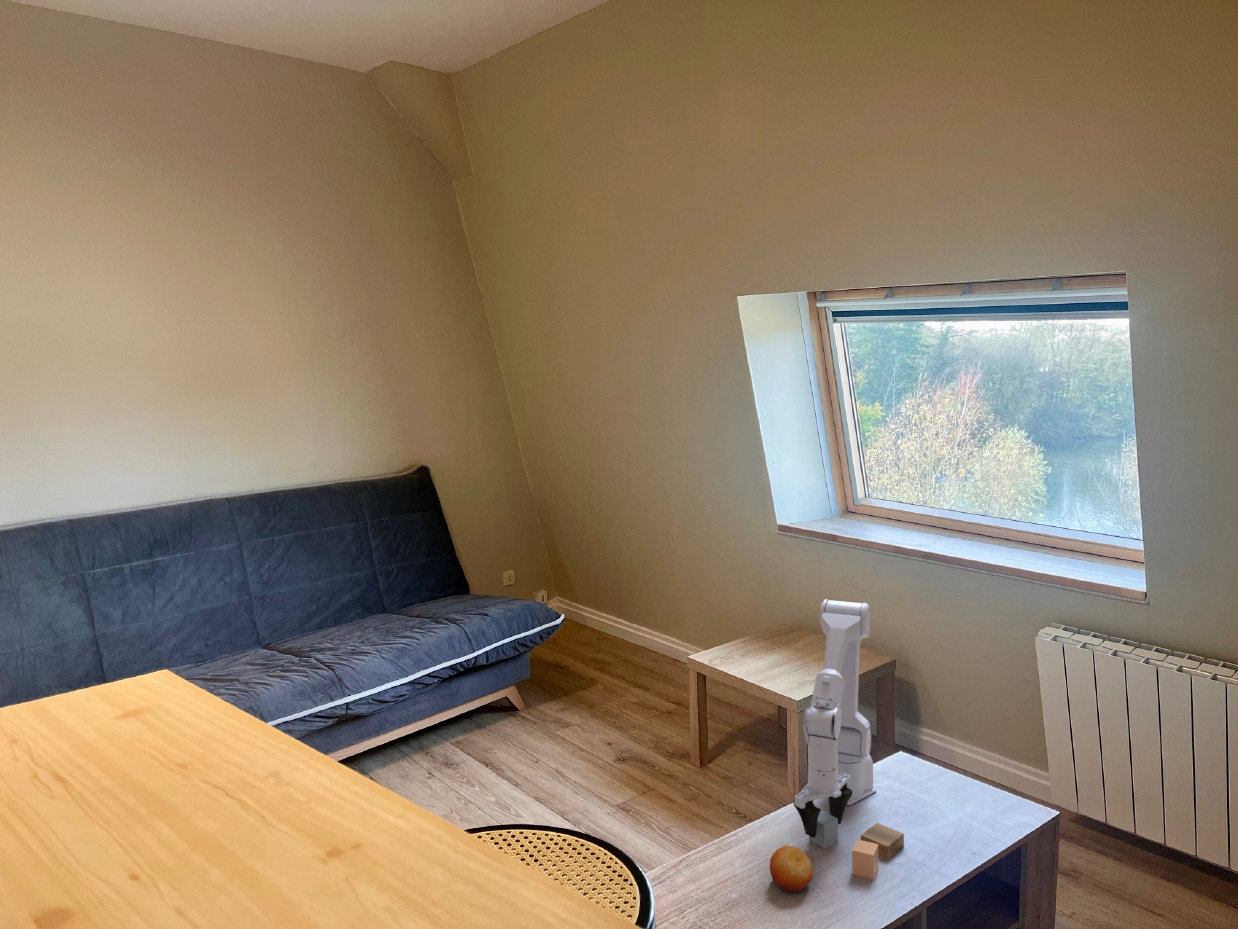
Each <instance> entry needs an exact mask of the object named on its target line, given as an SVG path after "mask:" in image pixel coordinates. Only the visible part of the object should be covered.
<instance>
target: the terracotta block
mask: <svg viewBox="0 0 1238 929" xmlns="http://www.w3.org/2000/svg"><path fill="white" fill-rule="evenodd" d="M851 856H852V857H851V860H852V861H851V869H852V870H851V873H852V874H851V875H853V876H857V877H860V878H865V879H868V880H873V881H874V879H875V877H876V875H877V873H878V871H879V855H878V844H875V843H871V842H866V841H862V840H861V839H856V842H855V844H854V846H853V848H852V851H851Z"/></svg>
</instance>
